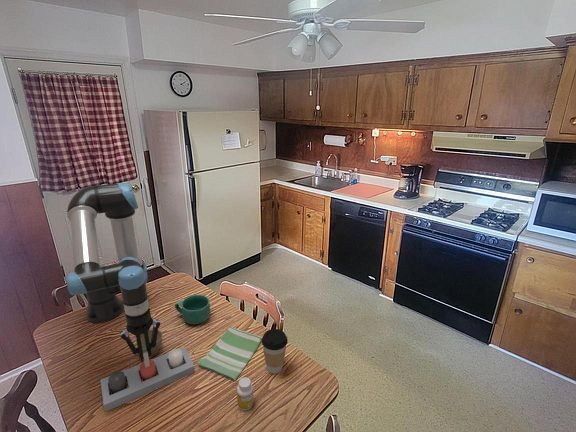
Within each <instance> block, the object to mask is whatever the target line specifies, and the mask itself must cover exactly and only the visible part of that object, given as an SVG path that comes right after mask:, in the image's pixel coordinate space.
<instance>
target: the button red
mask: <svg viewBox="0 0 576 432" xmlns="http://www.w3.org/2000/svg"><path fill="white" fill-rule="evenodd" d="M149 363H150V366H149V367H147V368H146V367H145V364H144V361H143V362H141V363H139V364H140V372H141V376H140V378H141V382H143V381H145V380H148V379H150V378H152V377H155V376H157V375H158V373H157V370H156V368H155V362H154V361H153V360H152V359H149Z"/></svg>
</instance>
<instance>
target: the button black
mask: <svg viewBox="0 0 576 432" xmlns="http://www.w3.org/2000/svg"><path fill="white" fill-rule="evenodd" d="M122 371H123V370H121V371H115V372H113V373H112V374H111V375H109V376H110V377H109V378H108V381H109V386H110V389H109V391H110V393H111V394H110V395H112V394H115V393H117V392H119V391H122V390H124V389H126V388H128V383H127V382H126V379H125V375H124V372H122Z"/></svg>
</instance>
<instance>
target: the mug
mask: <svg viewBox="0 0 576 432" xmlns="http://www.w3.org/2000/svg"><path fill="white" fill-rule="evenodd" d="M210 304H211V303H210V299H209V297H208V296H206V295H203V294H194V295H190V296H188V297H186V298H184V299H183V300H178V301H176V302H175V305H174V308H175V310H176V311H177V312H178V314H181V315H182V317H183V320H184V321H185V322H186V323H188V324H191V325H199V324H201V323H204V322H205V321H207V320H208V318H209V317H210V314H211V305H210Z"/></svg>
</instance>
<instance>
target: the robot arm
mask: <svg viewBox="0 0 576 432" xmlns="http://www.w3.org/2000/svg"><path fill="white" fill-rule="evenodd" d="M138 208H139V205H138V203H137V199H136V196H135V192H134V188H133V187H132V184H131V183H129V182H122V183H121V182H117V183H109V184H100V185H98V184H97V185H88V186H86V187H83V188H81V189H80V190H79V191H77V192H76V193H75V194H74V195H73V196H72V197H71V199H70V201H69V203H68V206H67V210H66V211H67V214H66V215H67V218H68V220H69V221H70V223H71V225H70V226H71V242H72V256H73V269H74V270H73V272H71V273H68V274H67V275H66V287H67V290H68V293H69V294H70V295H72V296H80V295H85V296H86V299H87V307H86V311H85V312H86V314H85V315H86V319H87V321H88V322H90V323H92V324H100V323H101V324H102V323H105V322H110V321H112V320H113V319H115V318H117V317H119V316H120V314H121V313H123V310H124V312H125V313H124V314H125V319H126V326H125V327H126V328H125V329H124V330H120V332H119V335H120V339H121V340H123V341H125V342H126V344H127V345H128V347H129V349H130V351H131V353H132V354H133V355H134V356H135V355H137V354H138V356H139V360H140V361H143V362H144V364H145V367H146V368H147V367H149V366H150V363H149V360H150V358H151V357H152V356H153V355H152V354H151V348H154V347H155V346H156V341H157V334H158V330H159V328H160V326H161V322H160V319H153V317H152V314H151V309H150V303H149V297H148V291H147V283H148V266H147V265H148V264H147V262H146V261H143V260H142V258H141V257H139V253H138V247H137V246H138V245H137V241H136V233H135V227H134V221H133V220H134V219H133V216H134V215H135V214H136V210H137V209H138ZM98 214H99V215H100V214H104V215H105V217H106V218H107V219H109V220H110V225H111V230H112V234H113V235H112V236H113V240H114V245H115V250H116V251H115V252H116V256H117V262H116V263H114V264H110V265H101V263H100V255H99V253H100V252H99V246H98V237H97V236H98V235H97V229H96V220H95V219H96V218H97V216H98ZM117 293H120V294H121V298H122V301H121V300H120V299H119V298H118V296H117ZM151 328H152V329H153V330H152V337H151V343H150V342H149V336H148V330H151ZM129 334H131V335H132V336H133V335H134V336H135V342H136V341H137V345H136V346H138V347H136V346H135V344H134V342H133V341H132V339H131V337H130V336H129ZM141 334H144V339H145V345H146V347H145V348H143V349H142V344H141V338H140V335H141Z"/></svg>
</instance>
